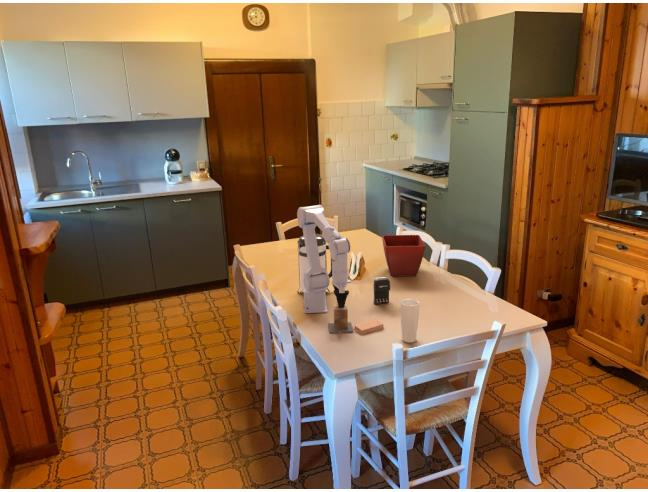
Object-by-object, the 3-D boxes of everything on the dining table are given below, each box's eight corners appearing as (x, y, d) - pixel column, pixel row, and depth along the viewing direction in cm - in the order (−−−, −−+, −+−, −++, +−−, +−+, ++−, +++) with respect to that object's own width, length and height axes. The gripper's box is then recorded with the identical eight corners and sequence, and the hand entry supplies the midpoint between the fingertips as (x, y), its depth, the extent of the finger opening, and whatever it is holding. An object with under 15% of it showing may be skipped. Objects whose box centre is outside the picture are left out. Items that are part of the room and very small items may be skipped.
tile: (354, 330, 192) (361, 335, 187) (354, 325, 191) (361, 330, 187) (375, 324, 196) (383, 328, 192) (375, 319, 196) (383, 324, 191)
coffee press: (328, 300, 218) (327, 235, 210) (293, 298, 222) (290, 233, 213) (335, 286, 235) (334, 224, 226) (302, 284, 238) (300, 223, 229)
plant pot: (424, 278, 241) (425, 245, 236) (385, 279, 242) (385, 246, 237) (418, 265, 259) (419, 234, 255) (381, 266, 260) (381, 235, 255)
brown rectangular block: (334, 329, 190) (334, 310, 188) (334, 325, 194) (333, 306, 191) (347, 328, 191) (347, 309, 188) (346, 324, 194) (346, 305, 192)
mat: (329, 333, 188) (329, 332, 188) (328, 324, 196) (328, 323, 195) (353, 332, 189) (353, 330, 189) (351, 323, 196) (351, 322, 196)
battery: (375, 305, 212) (375, 280, 209) (372, 302, 216) (372, 277, 212) (390, 304, 213) (391, 279, 210) (388, 300, 217) (388, 276, 213)
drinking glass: (416, 335, 185) (417, 298, 181) (420, 343, 179) (421, 305, 175) (398, 335, 185) (398, 298, 181) (401, 344, 179) (402, 306, 174)
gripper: (352, 276, 179) (353, 310, 183) (348, 263, 193) (348, 295, 197) (333, 277, 178) (333, 311, 182) (330, 264, 192) (330, 296, 196)
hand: (340, 303), depth 189 cm, fingers open, 7 cm apart
